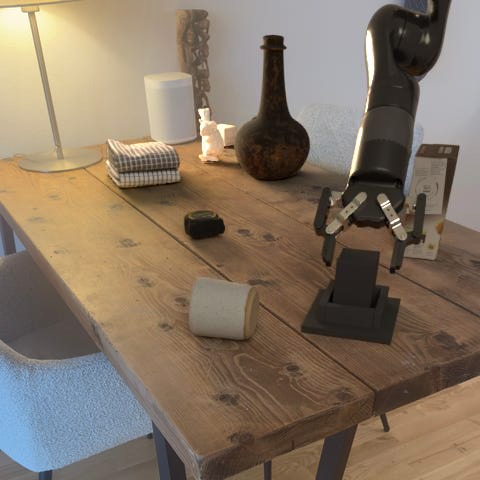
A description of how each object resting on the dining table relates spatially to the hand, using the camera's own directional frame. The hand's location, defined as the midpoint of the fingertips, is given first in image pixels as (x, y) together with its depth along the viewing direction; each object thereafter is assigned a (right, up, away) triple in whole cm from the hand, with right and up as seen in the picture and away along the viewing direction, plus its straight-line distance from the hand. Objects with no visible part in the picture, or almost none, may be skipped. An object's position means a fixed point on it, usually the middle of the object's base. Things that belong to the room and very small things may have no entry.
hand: (359, 268), depth 75 cm
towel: (-39, +39, +62) cm, 83 cm away
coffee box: (+16, +10, +24) cm, 30 cm away
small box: (-21, +60, +87) cm, 107 cm away
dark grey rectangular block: (0, -5, +4) cm, 7 cm away
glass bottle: (-8, +40, +62) cm, 74 cm away
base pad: (0, -6, +5) cm, 8 cm away
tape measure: (-22, +15, +31) cm, 41 cm away
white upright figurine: (-24, +49, +73) cm, 91 cm away
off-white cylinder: (-18, -8, +3) cm, 20 cm away
